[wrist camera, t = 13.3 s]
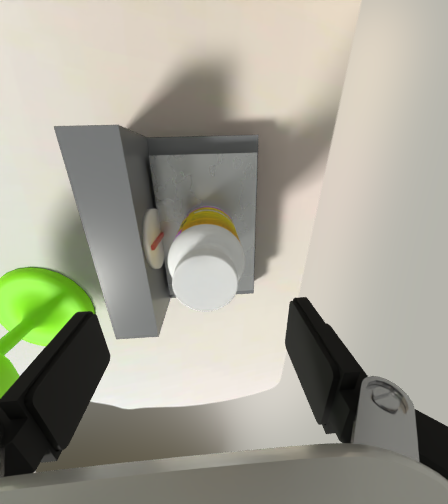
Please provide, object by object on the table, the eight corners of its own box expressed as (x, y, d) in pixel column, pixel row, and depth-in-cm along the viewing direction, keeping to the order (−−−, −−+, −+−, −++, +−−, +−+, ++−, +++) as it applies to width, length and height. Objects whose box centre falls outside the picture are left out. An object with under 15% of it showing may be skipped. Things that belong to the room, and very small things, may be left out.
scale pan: (151, 156, 24) (148, 155, 23) (255, 153, 24) (257, 152, 23) (171, 290, 31) (169, 294, 30) (251, 285, 31) (253, 290, 30)
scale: (113, 141, 27) (53, 126, 16) (253, 138, 27) (278, 121, 17) (143, 289, 35) (116, 339, 25) (250, 283, 36) (265, 329, 26)
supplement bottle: (183, 200, 25) (158, 233, 13) (238, 208, 26) (261, 245, 14) (179, 252, 27) (155, 319, 15) (229, 258, 28) (243, 325, 16)
